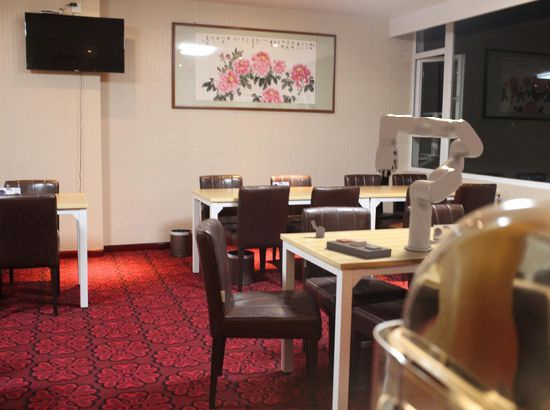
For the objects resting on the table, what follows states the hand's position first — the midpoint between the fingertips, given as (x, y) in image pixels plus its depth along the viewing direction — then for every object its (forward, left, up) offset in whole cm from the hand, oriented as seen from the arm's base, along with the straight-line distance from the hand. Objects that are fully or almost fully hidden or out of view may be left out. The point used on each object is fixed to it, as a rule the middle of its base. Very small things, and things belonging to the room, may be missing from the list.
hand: (384, 185), depth 259 cm
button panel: (+11, -3, -29) cm, 31 cm away
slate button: (+11, +6, -28) cm, 31 cm away
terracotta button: (+11, -12, -28) cm, 33 cm away
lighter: (+2, -42, -29) cm, 51 cm away
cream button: (+11, -3, -27) cm, 29 cm away
